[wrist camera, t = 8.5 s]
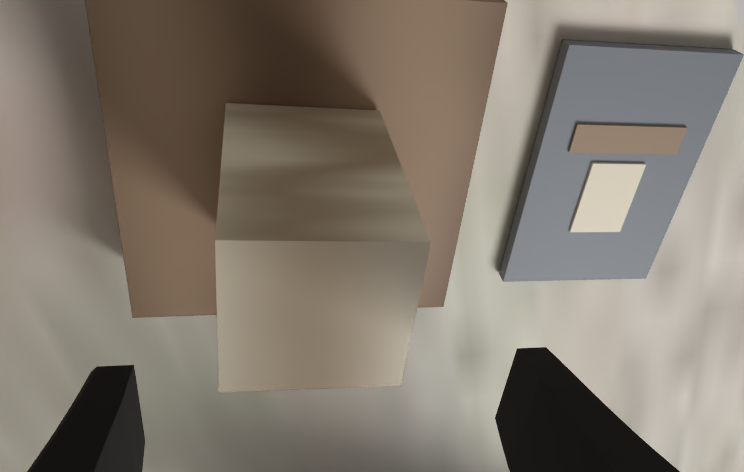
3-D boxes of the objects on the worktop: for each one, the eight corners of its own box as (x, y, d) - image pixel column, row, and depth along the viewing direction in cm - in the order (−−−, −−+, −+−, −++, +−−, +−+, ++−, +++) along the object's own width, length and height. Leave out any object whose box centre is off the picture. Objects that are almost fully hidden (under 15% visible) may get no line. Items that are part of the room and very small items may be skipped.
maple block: (379, 110, 17) (431, 242, 12) (362, 233, 19) (400, 385, 14) (225, 103, 16) (215, 239, 11) (227, 231, 18) (219, 392, 14)
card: (733, 49, 20) (746, 55, 20) (639, 270, 25) (646, 280, 25) (562, 39, 19) (570, 46, 19) (499, 273, 24) (504, 283, 24)
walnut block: (472, -25, 18) (507, 3, 16) (422, 254, 24) (443, 306, 21) (105, -51, 16) (81, -24, 14) (144, 259, 22) (132, 317, 19)
